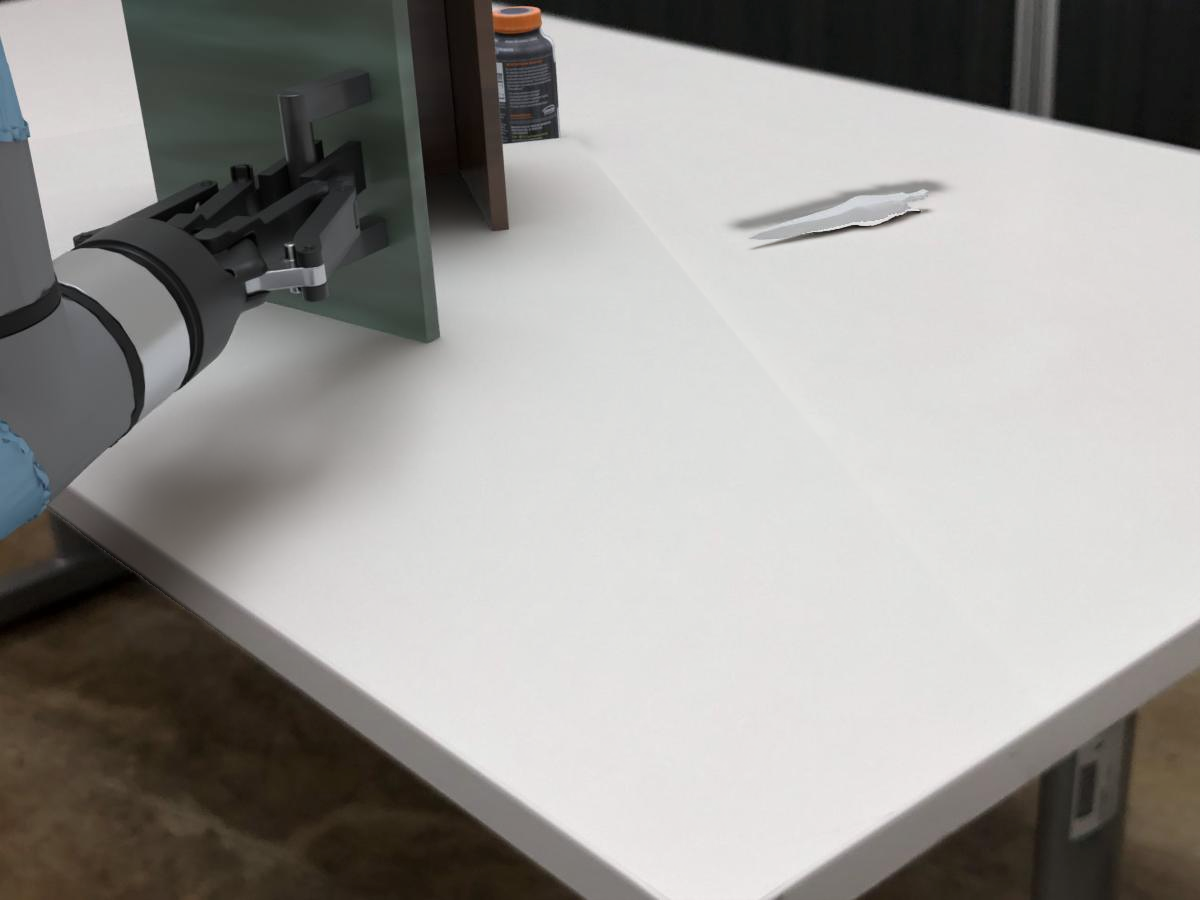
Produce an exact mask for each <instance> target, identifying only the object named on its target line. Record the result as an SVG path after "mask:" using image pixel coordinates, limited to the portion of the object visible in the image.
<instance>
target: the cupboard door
mask: <svg viewBox="0 0 1200 900" xmlns="http://www.w3.org/2000/svg"><path fill="white" fill-rule="evenodd" d="M120 2H121V8H122V13H123V19H124V25H125V30H126V35H127V42H128V46H129V52H130V57H131V63H132V68H133V74H134V79H135V85H136V90H137V96H138V101H139V107H140V112H141V118H142V125H143V129H144V134H145V135H144V136H145V141H146V145H147V150H148V151H147V152H148V156H149V162H150V167H151V174H152V179H153V184H154V189H155V194H156V195H155V196H156V200H157V202H158V201H160V200H163V199H165V198H167V197H169V196H171V195H173V194H175V193H177V192H179V191H181V190H183V189H185V188H187V187H189V186H191V185H193V184H195V183H198V182H201V181H202V180H212V181H216V182H218V188H219V189H223V188H224V187H225V186H226V185H228V184H229V183H230V182H231V181H232V178H231V172H230V167H231V166H233V165H237V164H250V165H252V168H253V174H254V176H255V175H257V174H258V173H260V172H261V171H264V170H265V169H267V168H268V167H270V166H271V165H273V164H274V163H276V162H277V161H279V160H280V159H282V158H283V157H285V156H286V160H287V167H288V175H289V182H290V189H291V192H293V191H295V190H296V189H298V188H300V183H299V176H300V175H301V174H303V173H304V172H306V171H307V170H308V169H310V168H311V167H313V166H314V165H315V164H317V156H316V148H315V140H322V144H323V152H324V158H325V157H326V156H328V155H329V154H331V153H332V152H333V151H335V150H336V149H338V148H339V147H340V146H342V145H343V144H345V143H346V142H347V141H361V147H362V155H363V164H364V172H365V181H366V189H365V190H363V191H362V192H361V193H360V194H358V195H357V207H358V215H359V223H360V232H361V233H360V235H359V237H358V238H357V239H356V241H355V242H354V244H353V245H352V246H351V248H350V249H349V251H348V252H347V253H346V255H345V256H344V258H343V259H342V260H341V262H340V263H339V265H338V266H337V267H336V269H335V270H334V272H333V273H332V274H331V276H330V277H329V279H328V280H327V287H328V297H327V298H326V299H324V300H321V301H317V302H309V301H305V300H304V299H303V297H302V293H292V292H291V291H290V288H288V289H280V290H272V291H271V293H270V296H269V298H268V300H267V301H266V302H265V303H271V304H274V305H277V306H282V307H285V308H289V309H293V310H297V311H301V312H304V313H308V314H313V315H317V316H321V317H324V318H326V319H327V318H329V319H332V320H336V321H339V322H343V323H347V324H351V325H354V326H358V327H362V328H366V329H369V330H374V331H377V332H381V333H384V334H389V335H393V336H396V337H401V338H404V339H407V340H410V341H411V340H412V341H416V342H419V343H424V344H430V343H432V342H434V341H436V340H437V339H440V338H441V330H440V321H439V311H438V309H439V308H438V300H437V290H436V289H437V288H436V282H435V269H434V262H433V261H434V259H433V250H432V241H431V239H432V238H431V230H430V229H431V228H430V221H429V220H430V219H429V211H428V209H429V208H428V202H427V201H428V200H427V191H426V180H425V175H424V169H423V159H422V149H421V139H420V129H419V119H418V109H417V99H416V89H415V79H414V69H413V59H412V50H411V40H410V30H409V20H408V10H407V0H120ZM197 209H198V205H197V204H196V207H195V210H197Z"/></svg>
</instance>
